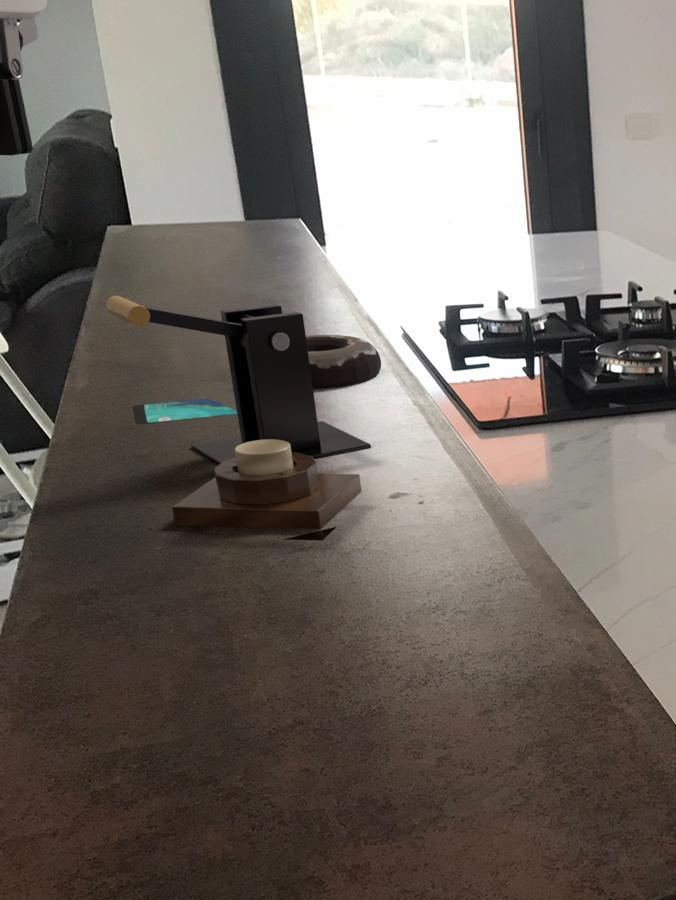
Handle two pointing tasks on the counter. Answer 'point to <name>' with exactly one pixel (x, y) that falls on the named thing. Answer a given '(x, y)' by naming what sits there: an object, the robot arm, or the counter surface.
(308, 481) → the lamp base
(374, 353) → the donut
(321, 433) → the switch bracket
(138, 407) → the smartphone
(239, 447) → the button
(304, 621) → the counter surface
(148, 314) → the switch lever
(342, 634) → the counter surface
